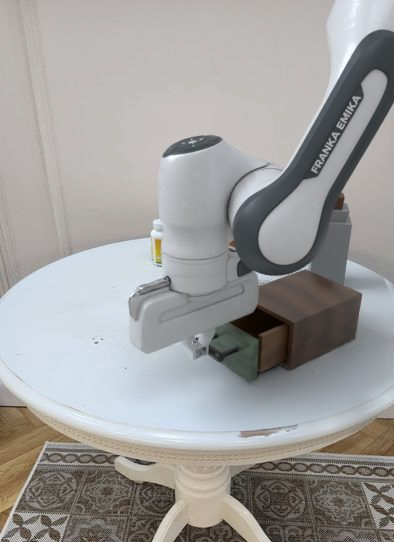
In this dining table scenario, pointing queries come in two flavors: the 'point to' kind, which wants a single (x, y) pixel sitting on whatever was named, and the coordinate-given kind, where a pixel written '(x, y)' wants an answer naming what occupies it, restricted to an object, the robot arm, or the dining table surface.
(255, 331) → the drawer
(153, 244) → the supplement bottle
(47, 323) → the dining table surface
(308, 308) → the cabinet
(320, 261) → the perfume bottle
